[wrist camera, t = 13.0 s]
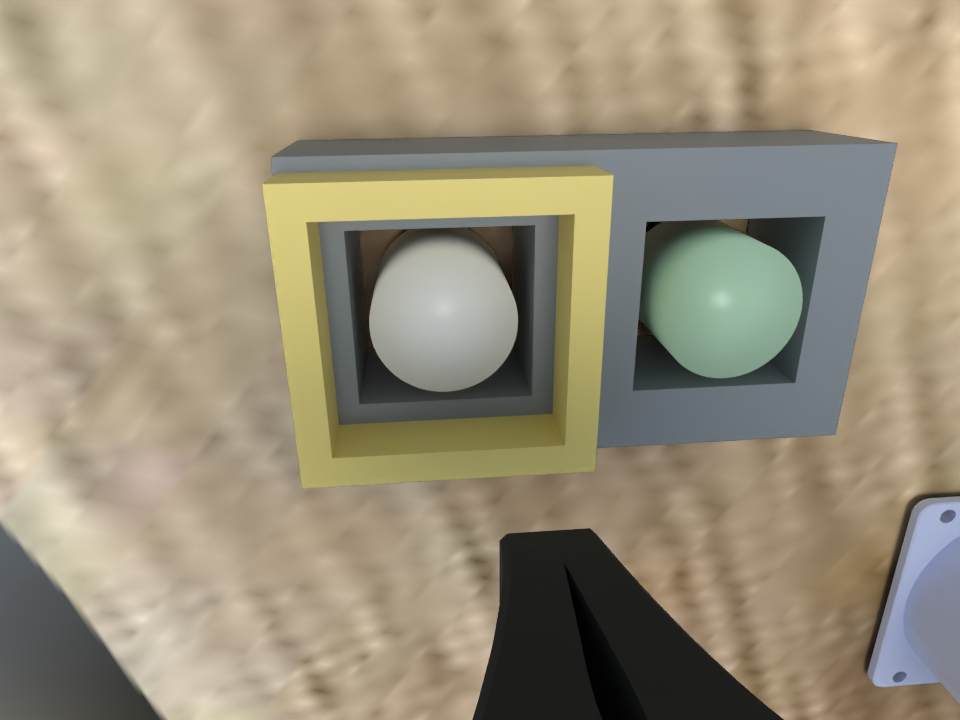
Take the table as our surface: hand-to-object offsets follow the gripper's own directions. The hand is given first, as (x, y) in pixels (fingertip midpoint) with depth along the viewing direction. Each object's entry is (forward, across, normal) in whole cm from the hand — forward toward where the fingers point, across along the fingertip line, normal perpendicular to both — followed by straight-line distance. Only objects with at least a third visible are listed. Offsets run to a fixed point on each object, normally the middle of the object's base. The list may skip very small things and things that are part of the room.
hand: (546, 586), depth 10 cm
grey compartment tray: (+10, -2, -2) cm, 10 cm away
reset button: (+9, +1, -2) cm, 9 cm away
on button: (+9, -5, -2) cm, 11 cm away
